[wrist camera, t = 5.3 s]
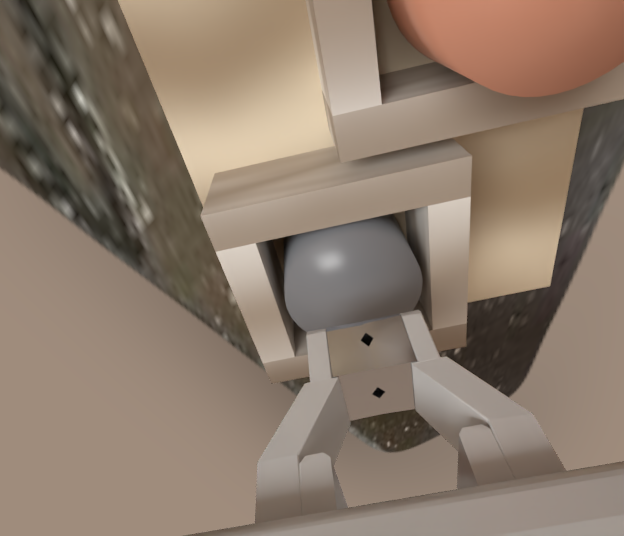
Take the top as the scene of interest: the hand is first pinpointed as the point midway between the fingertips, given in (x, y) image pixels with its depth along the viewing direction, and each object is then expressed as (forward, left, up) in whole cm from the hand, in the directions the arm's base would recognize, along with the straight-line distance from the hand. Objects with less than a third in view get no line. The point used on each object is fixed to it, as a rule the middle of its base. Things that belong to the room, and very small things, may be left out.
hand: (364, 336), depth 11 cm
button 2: (0, 0, -5) cm, 5 cm away
